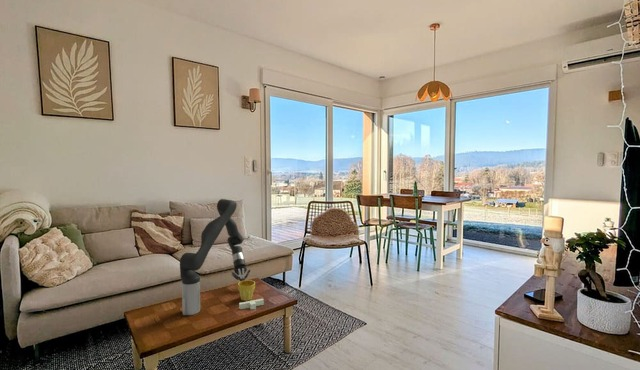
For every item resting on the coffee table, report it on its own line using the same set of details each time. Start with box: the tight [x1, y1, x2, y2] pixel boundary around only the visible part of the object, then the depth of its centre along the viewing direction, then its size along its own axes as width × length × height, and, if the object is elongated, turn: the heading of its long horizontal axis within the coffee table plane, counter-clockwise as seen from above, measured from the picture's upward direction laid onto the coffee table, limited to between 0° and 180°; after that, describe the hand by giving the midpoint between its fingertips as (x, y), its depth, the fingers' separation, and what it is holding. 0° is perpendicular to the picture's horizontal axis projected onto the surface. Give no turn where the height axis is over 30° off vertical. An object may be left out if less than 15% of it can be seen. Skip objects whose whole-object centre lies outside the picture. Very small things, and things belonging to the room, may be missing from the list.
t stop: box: [238, 298, 265, 310], centre depth 179 cm, size 14×5×3 cm, turn 117°
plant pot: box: [237, 279, 256, 302], centre depth 191 cm, size 10×10×10 cm
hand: (243, 284), depth 199 cm, fingers closed
